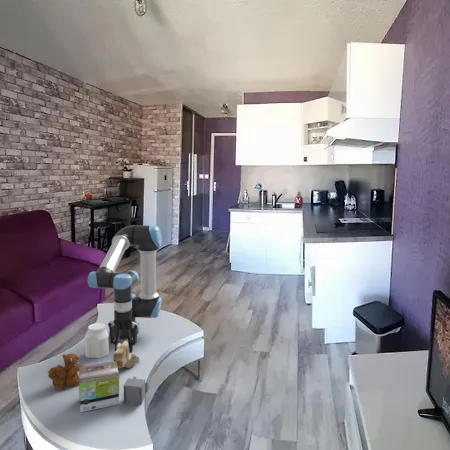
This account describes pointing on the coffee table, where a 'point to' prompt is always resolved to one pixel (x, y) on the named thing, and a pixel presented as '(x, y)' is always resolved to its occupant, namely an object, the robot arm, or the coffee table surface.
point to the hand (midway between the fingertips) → (124, 358)
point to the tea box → (98, 386)
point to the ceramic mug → (132, 361)
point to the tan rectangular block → (121, 354)
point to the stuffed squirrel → (66, 372)
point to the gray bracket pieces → (135, 390)
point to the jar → (96, 341)
